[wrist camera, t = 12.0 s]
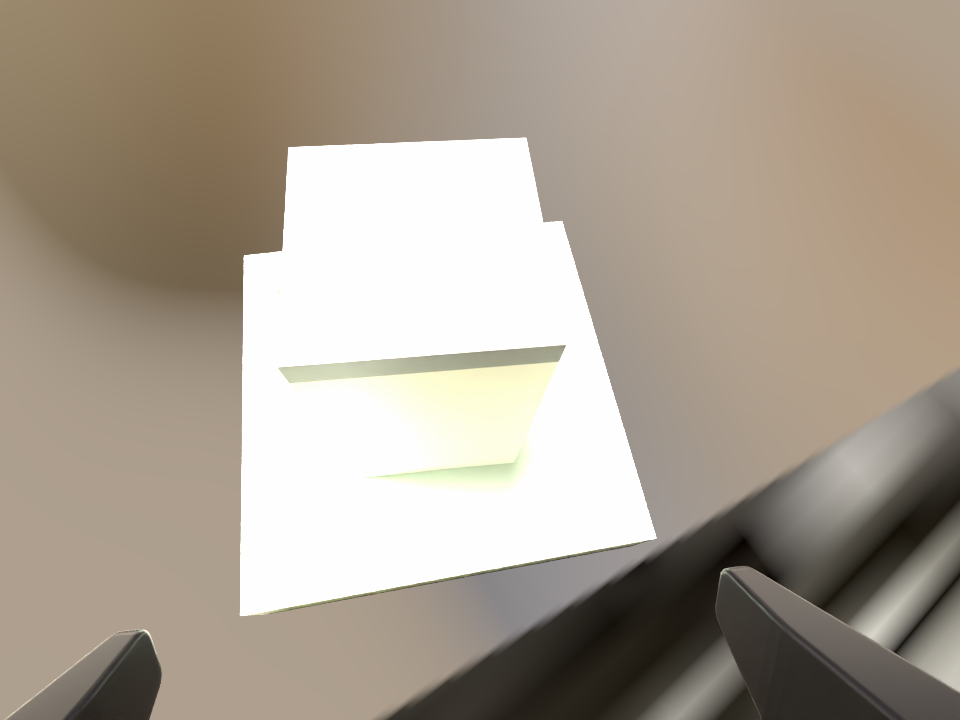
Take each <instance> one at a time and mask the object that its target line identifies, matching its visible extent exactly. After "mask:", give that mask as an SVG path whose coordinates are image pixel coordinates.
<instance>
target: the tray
mask: <svg viewBox="0 0 960 720" xmlns="http://www.w3.org/2000/svg"><path fill="white" fill-rule="evenodd" d="M543 225H544V230H545V235H546V240H547V245H548V250H549V255H550V260H551V265H552V270H553V275H554V280H555V286H556V291H557V296H558V301H559V306H560V311H561V316H562V321H563V326H564V331H565V336H566V341H567V346H566V348H565V351H564V353H563V355H562V357H561V359H560V362H559V364H558V366H557V368H556V371H555V373H554V375H553V377H552V380H551V382H550V384H549V386H548V388H547V391H546V393H545V395H544V397H543V400H542V402H541V404H540V406H539V408H538V411H537V413H536V415H535V417H534V420H533V422H532V424H531V426H530V428H529V431H528V433H527V435H526V437H525V440H524V442H523V444H522V446H521V448H520V451H519V453H518V455H517V457H516V460H515V462H514V463H507V464H496V465H486V466H476V467H466V468H455V469H445V470H435V471H425V472H414V473H404V474H394V475H384V476H373V477H363V478H358V477H357V475H356V474H355V473H354V471H353V470H352V469H351V467H350V466H349V465H348V463H347V462H346V460H345V459H344V458H343V456H342V455H341V454H340V452H339V451H338V450H337V448H336V447H335V446H334V444H333V443H332V442H331V440H330V439H329V437H328V436H327V435H326V433H325V432H324V431H323V429H322V428H321V427H320V425H319V424H318V423H317V421H316V420H315V418H314V417H313V416H312V414H311V413H310V412H309V410H308V409H307V408H306V406H305V405H304V404H303V402H302V401H301V399H300V398H299V397H298V395H297V394H296V393H295V391H294V390H293V389H292V387H291V386H290V385H289V383H288V382H287V380H286V379H285V378H284V376H283V375H282V374H281V372H280V371H279V370H278V368H277V350H278V331H279V313H280V295H281V277H282V259H283V252H276V253H266V254H257V255H248V256H245V257H244V337H243V339H244V342H243V343H244V344H243V430H242V431H243V433H242V434H243V435H242V522H241V523H242V524H241V525H242V526H241V616H244V615H261V614H271V613H276V612H282V611H287V610H293V609H298V608H303V607H308V606H313V605H319V604H324V603H330V602H335V601H340V600H346V599H351V598H357V597H362V596H367V595H373V594H378V593H383V592H388V591H394V590H399V589H404V588H410V587H415V586H421V585H426V584H432V583H437V582H442V581H448V580H453V579H458V578H464V577H469V576H474V575H479V574H484V573H490V572H495V571H501V570H506V569H512V568H517V567H522V566H527V565H533V564H538V563H544V562H549V561H554V560H560V559H565V558H570V557H576V556H581V555H586V554H592V553H597V552H602V551H608V550H613V549H619V548H623V547H629V546H633V545H636V544H640V543H643V542H646V541H649V540H652V539H655V538H656V536H655V532H654V529H653V526H652V523H651V519H650V516H649V512H648V509H647V506H646V502H645V499H644V496H643V492H642V489H641V485H640V483H639V479H638V475H637V472H636V469H635V465H634V462H633V459H632V455H631V452H630V449H629V445H628V442H627V439H626V435H625V432H624V428H623V425H622V422H621V419H620V415H619V412H618V409H617V405H616V402H615V399H614V395H613V392H612V388H611V385H610V382H609V378H608V375H607V371H606V368H605V365H604V362H603V358H602V355H601V351H600V348H599V345H598V341H597V338H596V335H595V332H594V328H593V325H592V321H591V318H590V314H589V311H588V308H587V304H586V301H585V298H584V294H583V291H582V288H581V284H580V281H579V278H578V274H577V271H576V267H575V264H574V261H573V258H572V254H571V251H570V247H569V244H568V241H567V237H566V234H565V231H564V227H563V224H562V221H560V222H550V223H543Z"/></svg>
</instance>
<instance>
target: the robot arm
mask: <svg viewBox="0 0 960 720" xmlns="http://www.w3.org/2000/svg"><path fill="white" fill-rule="evenodd" d="M716 616H717V619H718V622H719V625H720V627H721V629H722V632H723V634H724V636H725V638H726V641H727V643H728V645H729V647H730V650H731V652H732V654H733V657H734V659H735V661H736V663H737V666H738V668H739V670H740V672H741V675H742V677H743V679H744V681H745V684H746V686H747V688H748V690H749V693H750V695H751V697H752V699H753V702H754V704H755V706H756V708H757V710H758V712H759V714H760V717H761V719H762V720H960V692H959V691H957V690H955V689H954V688H952V687H950V686H949V685H947V684H945V683H944V682H942V681H940V680H939V679H937V678H935V677H934V676H932V675H930V674H929V673H927V672H925V671H924V670H922V669H920V668H919V667H917V666H915V665H914V664H912V663H910V662H909V661H907V660H905V659H903V658H902V657H900V656H898V655H897V654H895V653H893V652H892V651H890V650H888V649H887V648H885V647H883V646H882V645H880V644H878V643H877V642H875V641H873V640H872V639H870V638H868V637H867V636H865V635H863V634H862V633H860V632H858V631H857V630H855V629H853V628H851V627H850V626H848V625H846V624H845V623H843V622H841V621H840V620H838V619H836V618H835V617H833V616H831V615H830V614H828V613H826V612H825V611H823V610H821V609H820V608H818V607H816V606H815V605H813V604H811V603H810V602H808V601H806V600H805V599H803V598H801V597H799V596H798V595H796V594H794V593H793V592H791V591H789V590H788V589H786V588H784V587H783V586H781V585H779V584H778V583H776V582H774V581H773V580H771V579H769V578H768V577H766V576H764V575H763V574H761V573H759V572H758V571H756V570H754V569H752V568H750V567H746V566H742V567H732V568H726V569H724V570H723V571H722V572H721V575H720V581H719V587H718V594H717V600H716ZM161 677H162V672H161V666H160V663H159V660H158V657H157V654H156V651H155V648H154V645H153V642H152V639H151V636H150V634H149V633H148V632H147V631H146V630H143V629H140V630H130V631H121V632H118V633H115V634H113V635H112V636H110V637H109V638H108V639H106V640H105V641H104V642H102V643H101V644H100V645H99V646H97V647H96V648H95V649H94V650H92V651H91V652H90V653H89V654H87V655H86V656H85V657H83V658H82V659H81V660H80V661H78V662H77V663H76V664H75V665H73V666H72V667H71V668H70V669H68V670H67V671H66V672H64V673H63V674H62V675H61V676H59V677H58V678H57V679H56V680H54V681H53V682H52V683H50V684H49V685H48V686H47V687H45V688H44V689H43V690H42V691H40V692H39V693H38V694H37V695H35V696H34V697H33V698H32V699H30V700H29V701H28V702H27V703H25V704H24V705H23V706H22V707H20V708H19V709H18V710H16V711H15V712H14V713H12V714H11V715H10V716H9V717H7V718H6V719H5V720H149V719H150V716H151V713H152V710H153V706H154V704H155V700H156V697H157V694H158V691H159V688H160V684H161Z"/></svg>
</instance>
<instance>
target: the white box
mask: <svg viewBox="0 0 960 720" xmlns="http://www.w3.org/2000/svg"><path fill="white" fill-rule="evenodd" d="M566 346H567V341H566V336H565V331H564V326H563V321H562V316H561V311H560V306H559V301H558V296H557V291H556V286H555V280H554V275H553V270H552V265H551V260H550V255H549V250H548V245H547V240H546V235H545V230H544V225H543V220H542V215H541V211H540V205H539V200H538V195H537V190H536V185H535V180H534V175H533V170H532V165H531V160H530V155H529V150H528V146H527V140H526V138H512V139H487V140H462V141H437V142H414V143H388V144H364V145H339V146H315V147H290V148H289V150H288V169H287V186H286V205H285V222H284V241H283V259H282V277H281V295H280V313H279V331H278V350H277V368H278V370H279V371H280V372H281V374H282V375H283V376H284V378H285V379H286V380H287V382H288V383H289V385H290V386H291V387H292V389H293V390H294V391H295V393H296V394H297V395H298V397H299V398H300V399H301V401H302V402H303V404H304V405H305V406H306V408H307V409H308V410H309V412H310V413H311V414H312V416H313V417H314V418H315V420H316V421H317V423H318V424H319V425H320V427H321V428H322V429H323V431H324V432H325V433H326V435H327V436H328V437H329V439H330V440H331V442H332V443H333V444H334V446H335V447H336V448H337V450H338V451H339V452H340V454H341V455H342V456H343V458H344V459H345V460H346V462H347V463H348V465H349V466H350V467H351V469H352V470H353V471H354V473H355V474H356V475H357V477H358V478H363V477H373V476H384V475H394V474H404V473H414V472H425V471H435V470H445V469H455V468H466V467H476V466H486V465H496V464H507V463H514V462H515V460H516V457H517V455H518V453H519V451H520V448H521V446H522V444H523V442H524V440H525V437H526V435H527V433H528V431H529V428H530V426H531V424H532V422H533V420H534V417H535V415H536V413H537V411H538V408H539V406H540V404H541V402H542V400H543V397H544V395H545V393H546V391H547V388H548V386H549V384H550V382H551V380H552V377H553V375H554V373H555V371H556V368H557V366H558V364H559V362H560V359H561V357H562V355H563V353H564V351H565V348H566Z"/></svg>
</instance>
